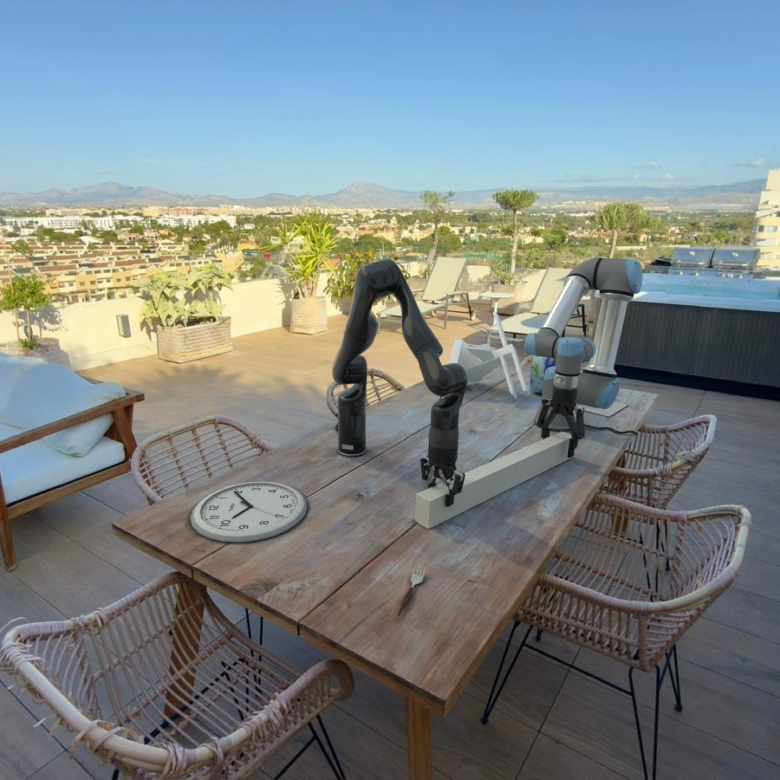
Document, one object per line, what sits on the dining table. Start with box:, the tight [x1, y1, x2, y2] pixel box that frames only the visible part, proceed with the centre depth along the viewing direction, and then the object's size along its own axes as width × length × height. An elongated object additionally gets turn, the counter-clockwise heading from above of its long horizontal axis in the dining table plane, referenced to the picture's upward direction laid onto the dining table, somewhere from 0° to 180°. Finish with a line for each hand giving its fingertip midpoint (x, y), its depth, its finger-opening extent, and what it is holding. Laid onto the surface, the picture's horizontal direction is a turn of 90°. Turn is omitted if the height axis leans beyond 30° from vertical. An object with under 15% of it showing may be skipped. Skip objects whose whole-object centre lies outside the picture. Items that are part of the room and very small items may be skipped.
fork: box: [397, 562, 427, 617], centre depth 109 cm, size 3×16×2 cm, turn 160°
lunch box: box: [529, 355, 556, 394], centre depth 244 cm, size 26×11×21 cm, turn 135°
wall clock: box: [190, 481, 308, 544], centre depth 139 cm, size 30×2×30 cm
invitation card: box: [576, 401, 629, 418], centre depth 226 cm, size 21×1×15 cm
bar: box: [414, 431, 573, 530], centre depth 155 cm, size 68×5×8 cm, turn 131°
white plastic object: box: [448, 310, 531, 400], centre depth 245 cm, size 37×45×31 cm
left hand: (440, 501), depth 137 cm, fingers open, 5 cm apart
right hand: (557, 451), depth 173 cm, fingers open, 9 cm apart
